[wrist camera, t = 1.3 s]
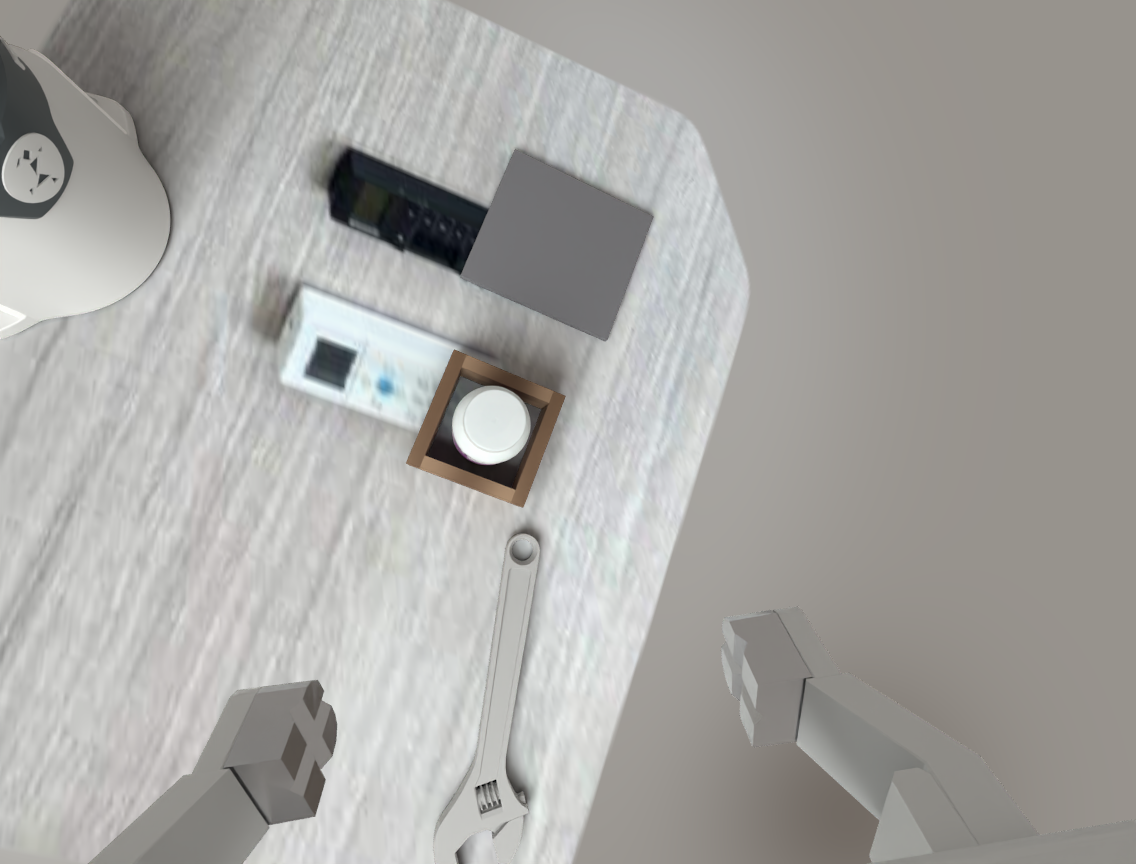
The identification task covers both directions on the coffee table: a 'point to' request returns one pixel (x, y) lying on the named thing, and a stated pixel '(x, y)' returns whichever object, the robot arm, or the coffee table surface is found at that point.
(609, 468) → the coffee table surface
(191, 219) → the coffee table surface
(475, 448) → the pill bottle
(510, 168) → the charcoal mat
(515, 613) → the adjustable wrench
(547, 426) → the walnut collar
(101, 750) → the coffee table surface
